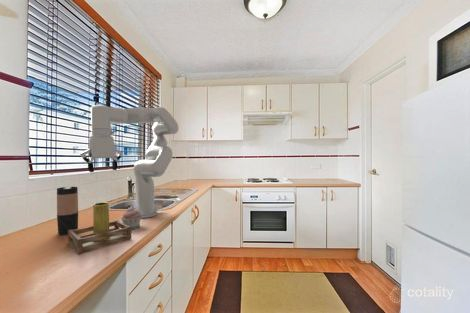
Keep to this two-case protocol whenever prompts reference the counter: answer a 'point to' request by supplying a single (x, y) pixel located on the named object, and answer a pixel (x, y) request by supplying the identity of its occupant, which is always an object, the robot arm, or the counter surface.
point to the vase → (101, 219)
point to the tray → (98, 237)
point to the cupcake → (131, 217)
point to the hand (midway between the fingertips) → (103, 170)
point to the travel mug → (67, 209)
